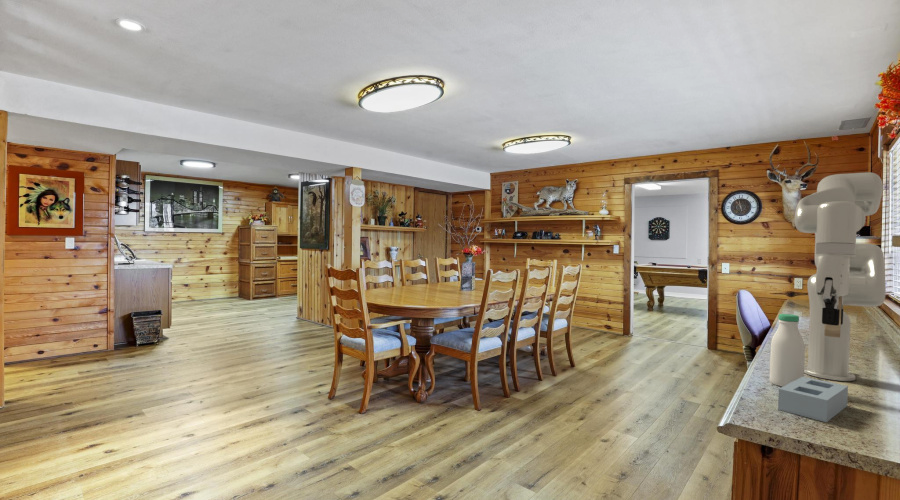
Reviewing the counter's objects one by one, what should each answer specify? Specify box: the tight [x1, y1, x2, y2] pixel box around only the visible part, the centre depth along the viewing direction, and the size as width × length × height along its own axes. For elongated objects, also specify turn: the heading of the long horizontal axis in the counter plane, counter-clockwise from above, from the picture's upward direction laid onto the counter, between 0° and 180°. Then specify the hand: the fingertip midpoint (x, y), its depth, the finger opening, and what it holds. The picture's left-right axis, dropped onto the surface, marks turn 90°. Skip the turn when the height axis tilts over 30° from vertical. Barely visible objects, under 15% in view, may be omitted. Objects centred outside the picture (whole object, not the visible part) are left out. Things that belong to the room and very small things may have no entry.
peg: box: [824, 297, 842, 337], centre depth 110 cm, size 3×3×10 cm
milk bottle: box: [769, 313, 806, 388], centre depth 124 cm, size 8×8×20 cm
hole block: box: [777, 376, 849, 423], centre depth 107 cm, size 18×9×5 cm, turn 127°
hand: (832, 323), depth 110 cm, fingers closed on peg, 3 cm apart
